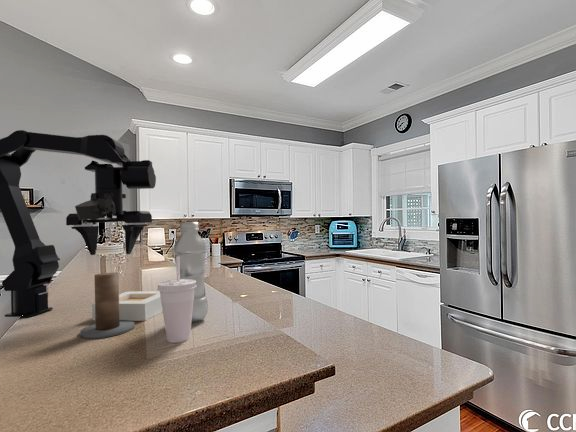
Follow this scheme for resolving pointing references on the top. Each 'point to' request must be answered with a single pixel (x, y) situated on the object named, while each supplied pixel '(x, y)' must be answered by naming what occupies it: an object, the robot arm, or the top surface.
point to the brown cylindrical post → (107, 301)
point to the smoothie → (177, 306)
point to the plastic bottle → (193, 265)
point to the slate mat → (92, 333)
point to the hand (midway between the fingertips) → (110, 254)
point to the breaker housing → (137, 305)
